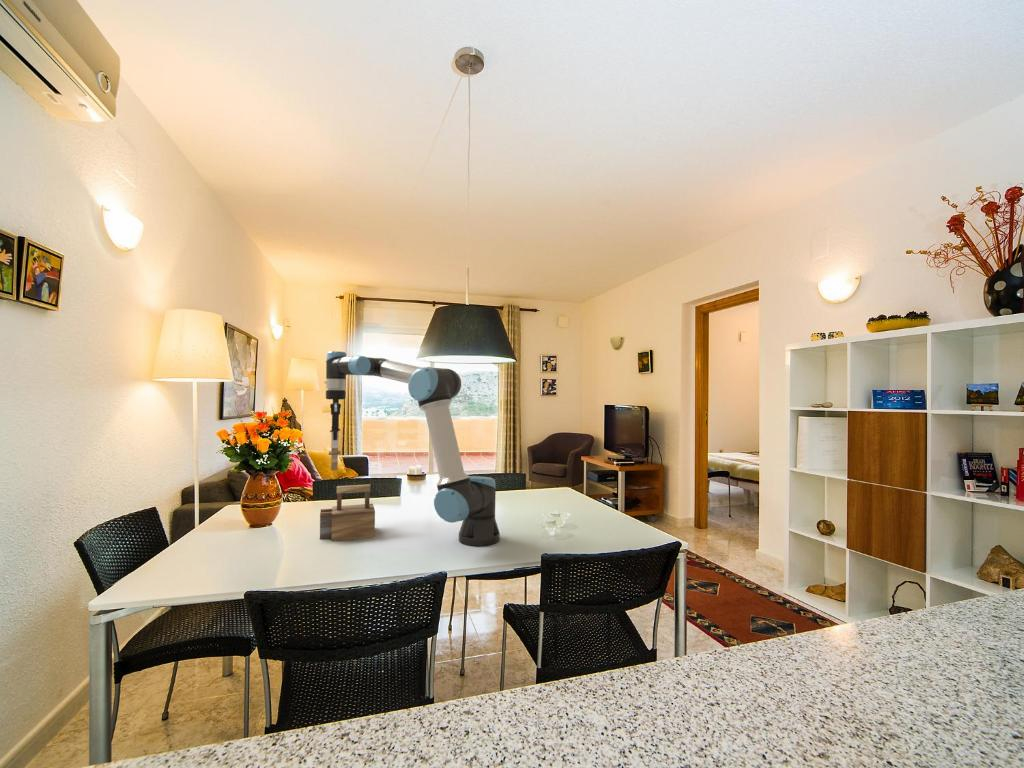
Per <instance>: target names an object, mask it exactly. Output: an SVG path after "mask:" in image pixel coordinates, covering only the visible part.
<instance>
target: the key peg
mask: <svg viewBox="0 0 1024 768" xmlns="http://www.w3.org/2000/svg"><path fill="white" fill-rule="evenodd" d="M341 453H342V452H341V450H339V447H338V448H331V450H328V455H329V456H330V464H331V465H330V470H331V471H338V468H339V467H338V466H339V465H338V461H339V460H338V459H339V456H338V455H341Z"/></svg>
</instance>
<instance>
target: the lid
mask: <svg viewBox="0 0 1024 768" xmlns="http://www.w3.org/2000/svg"><path fill="white" fill-rule="evenodd" d="M353 493H364V503H363V504H349V505H342V504H343V503H342V499H343V497H342V496H343V495H342V494H353ZM370 494H371V484H369V483H368V484H367V483H366V484H352V485H337V486H336V505H335V506H331V508H321V509H320V513H319V518H320V517H332V519H334V518H346V517H358V516H370V515H375V516H376V510H375V507H374V504H373V503H370V497H371V496H370Z"/></svg>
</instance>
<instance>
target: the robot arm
mask: <svg viewBox="0 0 1024 768" xmlns="http://www.w3.org/2000/svg"><path fill="white" fill-rule="evenodd" d="M325 363H326V364H325V368H326V369H325V372H326V373H325V376H326V377H325V379H326V380H325V381H324V384H326V385H325V389H326V391H325V399H326V400H332V403H330V407H329V408H330V415H331V427H330V428H331V430H330V429H329V432H330V433H331V439H330V440H331V441H330V442H331V443H330V445H331V446H330V447H331V448H338V449H339V444H340V443H339V435H340V434H339V433H340V431H341V428H340V427H339V426H340V422H339V421H340V415H341V407H342V404H341V403H339V402H340V401H339V400H345V399H347V396H346V392H347V391H346V389H347V376H369V377H379V378H384V379H388V380H392V381H397V382H401V383H403V384H404V383H405V384H407V385H408V386H407V387H408V393H409V395H410V397H411V398H413V399H414V400H415V401H417V403H418V408H419V409H420V410H421V411H423V412H424V414H425V418H426V422H427V423H426V424H427V427H428V432H429V436H430V440H431V446H432V449H433V454H434V458H435V464H436V467H437V472H438V477H439V480H438V482H437V483H436V488H437V492H436V494H435V497H434V499H433V506H434V511H435V512H436V514H437V516H439V518H440V519H442V520H443V521H445V522H447V523H457V522H462V523H461V525H460V529H459V531H458V542H459V543H461V544H463V545H466V546H473V547H481V546H482V547H485V546H490V545H491V546H492V545H494V544H497V543H499V541H500V540H501V537H500V536H501V534H500V530H499V527H498V523H497V520H496V493H497V492H496V491H497V487H496V480H495V479H494V478H493V477H488V476H479V475H477V476H476V475H468V474H467V473H466V472H465V470H464V466H463V461H462V457H461V453H460V448H459V445H458V439H457V436H456V432H455V427H454V423H453V419H452V414H451V411H450V405H451V403H452V401H453V400H452V399H454V398H455V397H457V395H458V394H459V392H460V391H461V389H462V380H461V377H460V375H459V374H458V373H457V372H456V371H455V370H453V369H450V368H443V367H442V368H440V367H431V366H427V367H422V366H415V365H412V364H407V363H402V362H398V361H393V360H389V359H387V358H382V357H367V356H364V355H351V356H347V353H346V352H345V351H336V350H335V351H334V350H332V351H331V350H329V351H327V353H326V360H325Z"/></svg>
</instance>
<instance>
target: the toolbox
mask: <svg viewBox="0 0 1024 768" xmlns="http://www.w3.org/2000/svg"><path fill="white" fill-rule="evenodd" d="M375 529H376V514H375V515H370V516H358V517H346V518H334V519H332V517H320V516H319V540H322V539H323V540H324V539H325V540H326V539H331V542H336V541H344V540H355V539H356V540H357V539H365V538H366V539H367V538H374V537H376V536H375V534H376V530H375Z"/></svg>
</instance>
